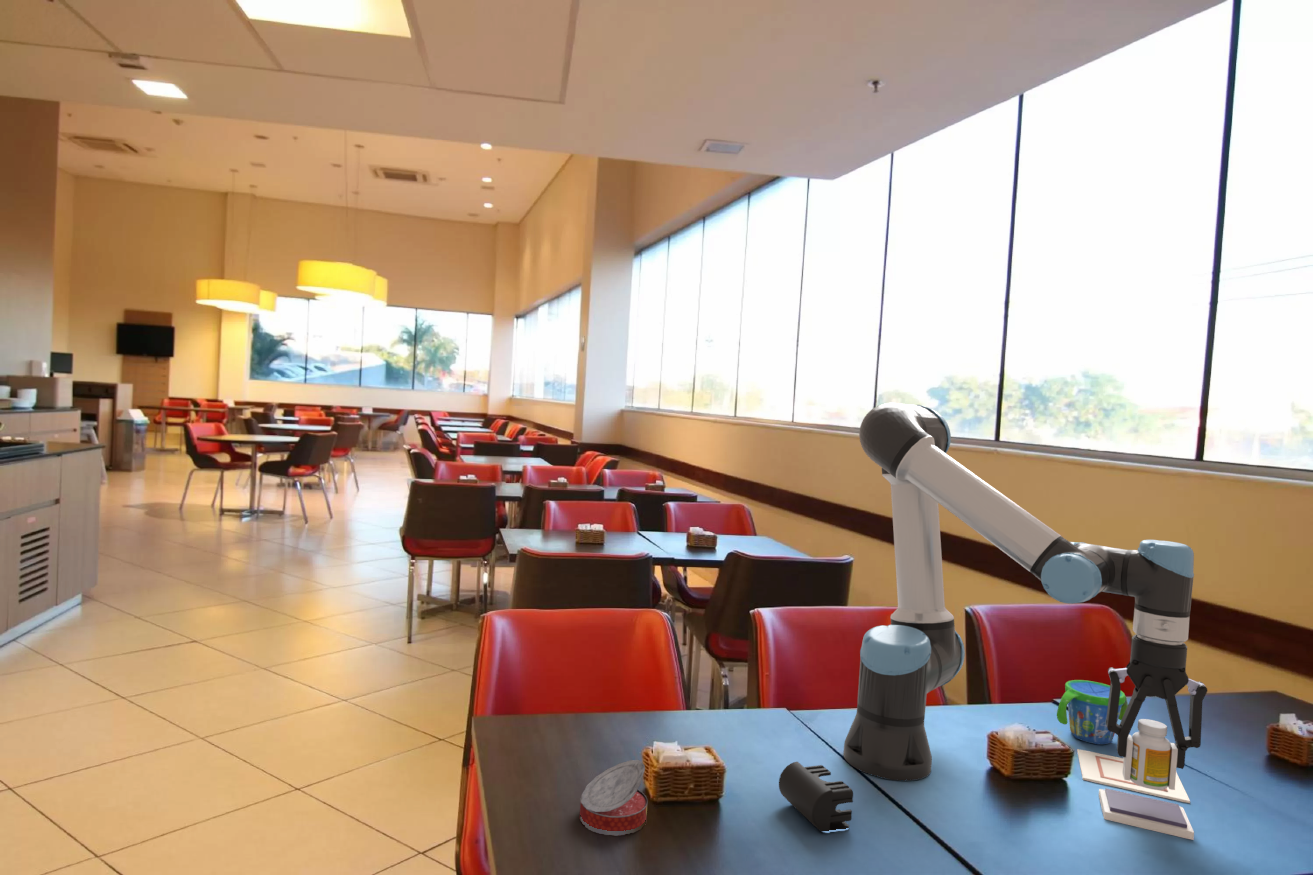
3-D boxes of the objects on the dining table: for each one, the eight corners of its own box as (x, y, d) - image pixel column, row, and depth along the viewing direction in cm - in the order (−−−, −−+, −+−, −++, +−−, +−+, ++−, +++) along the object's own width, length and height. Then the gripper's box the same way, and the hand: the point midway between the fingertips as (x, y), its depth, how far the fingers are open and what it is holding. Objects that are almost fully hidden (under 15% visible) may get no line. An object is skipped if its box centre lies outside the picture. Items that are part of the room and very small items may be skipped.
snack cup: (1073, 749, 155) (1077, 697, 154) (1038, 727, 165) (1043, 678, 165) (1145, 749, 157) (1149, 698, 157) (1106, 727, 168) (1111, 679, 167)
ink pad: (1104, 818, 127) (1105, 807, 127) (1098, 795, 136) (1099, 784, 136) (1193, 839, 123) (1194, 828, 123) (1182, 814, 131) (1183, 803, 131)
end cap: (776, 805, 125) (779, 762, 125) (815, 799, 128) (818, 758, 127) (810, 838, 116) (814, 792, 116) (852, 832, 118) (855, 787, 118)
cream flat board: (1082, 779, 142) (1083, 776, 142) (1077, 750, 154) (1077, 748, 154) (1189, 803, 135) (1190, 800, 135) (1174, 771, 148) (1175, 768, 148)
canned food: (631, 867, 114) (629, 823, 109) (568, 841, 117) (563, 798, 112) (661, 800, 123) (661, 757, 118) (602, 779, 126) (599, 736, 121)
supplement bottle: (1174, 786, 128) (1179, 726, 128) (1157, 793, 125) (1162, 732, 125) (1138, 772, 133) (1143, 714, 132) (1121, 779, 130) (1126, 719, 129)
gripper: (1096, 633, 128) (1085, 776, 129) (1235, 654, 121) (1222, 805, 122) (1092, 623, 135) (1081, 759, 136) (1223, 642, 128) (1211, 785, 129)
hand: (1147, 781), depth 129 cm, fingers closed on supplement bottle, 5 cm apart
